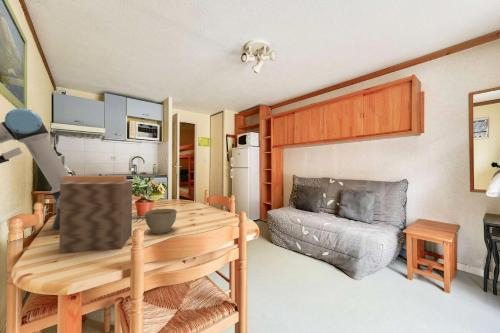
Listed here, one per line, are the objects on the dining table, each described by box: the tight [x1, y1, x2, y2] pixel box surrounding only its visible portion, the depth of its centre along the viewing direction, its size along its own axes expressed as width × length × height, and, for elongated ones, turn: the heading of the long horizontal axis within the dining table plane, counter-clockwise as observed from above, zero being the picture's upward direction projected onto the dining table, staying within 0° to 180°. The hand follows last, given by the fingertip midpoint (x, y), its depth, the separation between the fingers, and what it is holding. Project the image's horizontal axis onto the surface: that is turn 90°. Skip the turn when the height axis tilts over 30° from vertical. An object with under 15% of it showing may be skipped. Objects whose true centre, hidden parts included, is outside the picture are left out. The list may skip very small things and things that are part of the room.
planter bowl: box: [144, 208, 178, 235], centre depth 116 cm, size 16×16×11 cm
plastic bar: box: [63, 175, 127, 182], centre depth 100 cm, size 24×4×2 cm, turn 107°
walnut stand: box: [58, 179, 133, 255], centre depth 97 cm, size 22×18×28 cm
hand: (8, 149), depth 91 cm, fingers open, 13 cm apart
